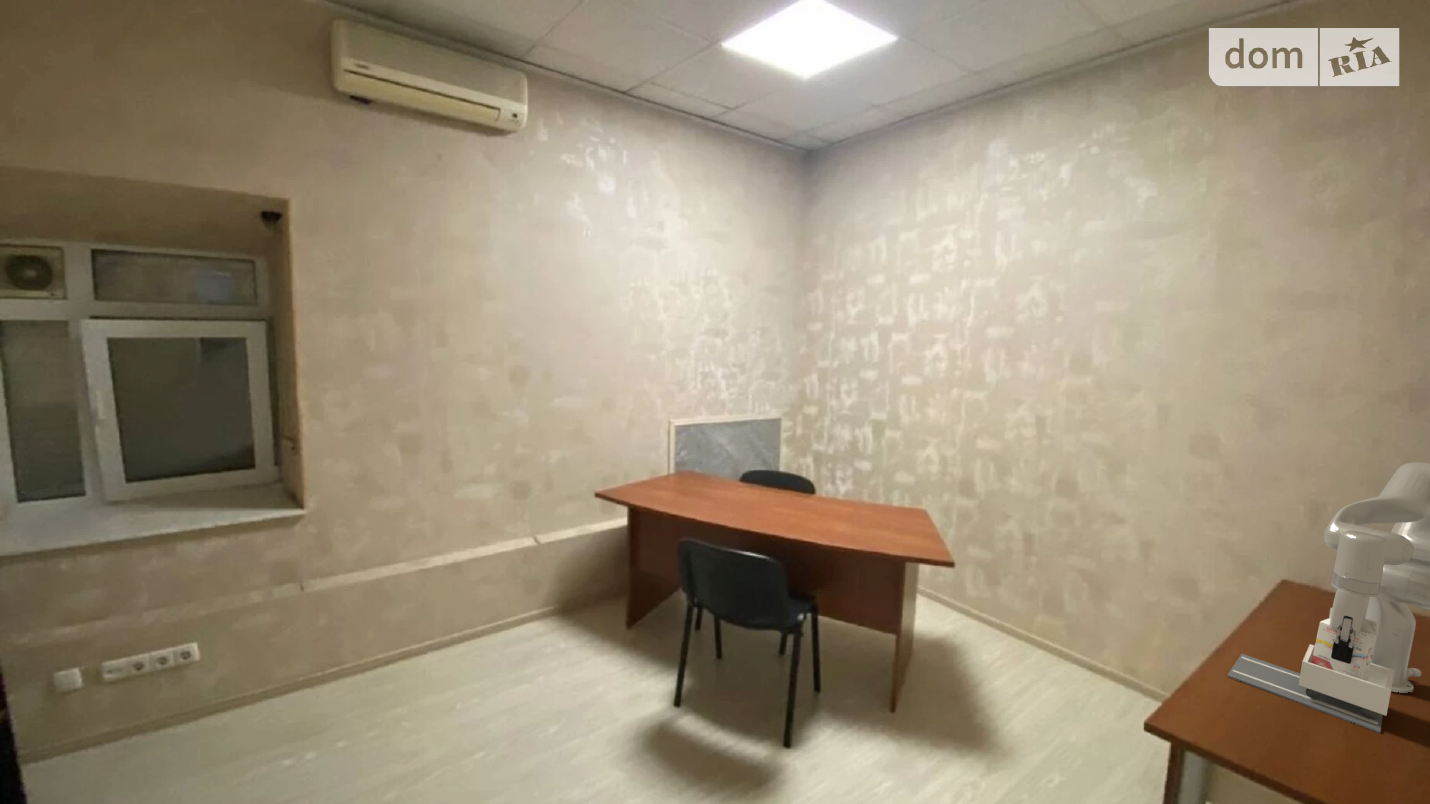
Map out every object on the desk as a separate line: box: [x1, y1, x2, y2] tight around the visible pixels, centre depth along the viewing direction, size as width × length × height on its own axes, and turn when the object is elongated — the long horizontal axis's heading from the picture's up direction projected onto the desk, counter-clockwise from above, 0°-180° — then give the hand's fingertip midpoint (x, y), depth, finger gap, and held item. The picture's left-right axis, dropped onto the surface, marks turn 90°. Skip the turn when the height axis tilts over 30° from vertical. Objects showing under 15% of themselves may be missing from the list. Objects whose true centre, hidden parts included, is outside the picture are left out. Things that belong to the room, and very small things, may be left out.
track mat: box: [1226, 653, 1384, 734], centre depth 145 cm, size 18×26×1 cm
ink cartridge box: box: [1312, 607, 1377, 681], centre depth 139 cm, size 9×5×15 cm, turn 26°
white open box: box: [1298, 643, 1394, 719], centre depth 139 cm, size 14×14×8 cm
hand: (1342, 655), depth 139 cm, fingers closed on ink cartridge box, 5 cm apart
